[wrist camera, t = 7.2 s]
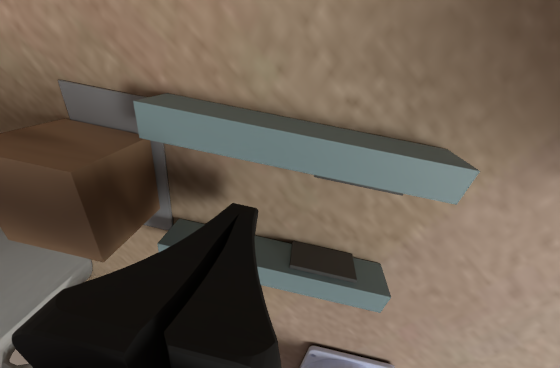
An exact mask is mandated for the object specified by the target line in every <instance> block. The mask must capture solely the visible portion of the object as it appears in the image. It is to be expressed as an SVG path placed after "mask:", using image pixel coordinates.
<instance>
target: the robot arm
mask: <svg viewBox="0 0 560 368" xmlns="http://www.w3.org/2000/svg"><path fill="white" fill-rule="evenodd" d="M257 217H258V210H257V208H253V207H248V206H244V205H239V204H235V203H232V204H231V205H230V206H228V207H227V208H226V209H225V210H223V211H222V212H221V213H220V214H218V215H217V216H216V217H215V218H213V219H212V220H210V221H209V222H208V223H206V224H205V225H204V226H202V227H201V228H199V229H198V230H196V231H195V232H193V233H192V234H190V235H189V236H187V237H186V238H184V239H182V240H181V241H179V242H177V243H175V244H174V245H172V246H170V247H168V248H166V249H165V250H163V251H161V252H159V253H156V254H154V255H152V256H150V257H148V258H146V259H144V260H142V261H139V262H137V263H135V264H132V265H130V266H128V267H125V268H123V269H120V270H117V271H115V272H112V273H110V274H107V275H104V276H101V277H98V278H95V279H92V280H89V281H86V282H83V283H80V284H77V285H74V286H71V287H68V288H65V289H62V290H61V291H60V292H59V293H58V294H56V295H55V296H54V297H53V298H52V299H51V300H49V301H48V302H47V303H46V304H45V305H44V306H43V307H42V308H40V309H39V310H38V311H37V312H36V313H35V314H34V315H33V316H31V317H30V318H29V319H28V320H27V321H26V322H25V323H24V324H23V325H21V326H20V327H19V328H18V329H17V330H16V331H15V332H14V333H13V334H12V344H13V346H14V347H15V348H16V350H17V351H18V352H19V353H20V354H21V355H22V356H23V357H24V358H25V359H26V360H27V362H28V363H29V364H30V365H31V366H32V367H33V368H281V361H280V354H279V348H278V341H277V338H276V335H275V332H274V329H273V326H272V323H271V320H270V317H269V314H268V311H267V307H266V304H265V300H264V296H263V292H262V288H261V284H260V279H259V274H258V268H257V262H256V253H255V231H256V224H257ZM300 368H395V367H394V366H393V365H392V364H388V363H384V362H380V361H376V360H371V359H367V358H363V357H359V356H355V355H351V354H347V353H343V352H339V351H334V350H330V349H326V348H322V347H318V346H310V347H309V349H308V351H307V353H306V355H305V357H304V359H303V361H302V364H301V366H300Z"/></svg>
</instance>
